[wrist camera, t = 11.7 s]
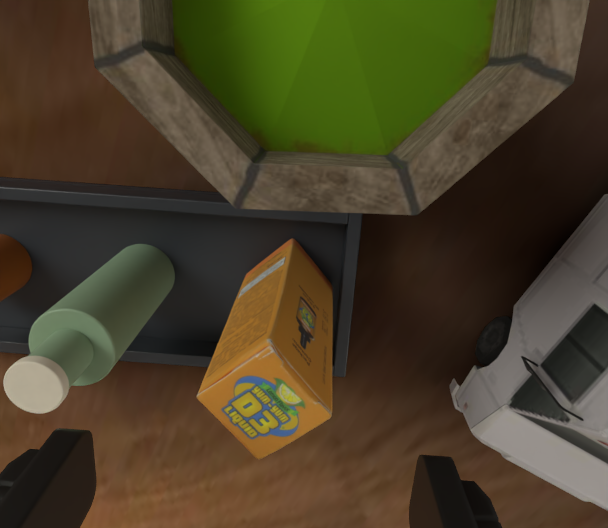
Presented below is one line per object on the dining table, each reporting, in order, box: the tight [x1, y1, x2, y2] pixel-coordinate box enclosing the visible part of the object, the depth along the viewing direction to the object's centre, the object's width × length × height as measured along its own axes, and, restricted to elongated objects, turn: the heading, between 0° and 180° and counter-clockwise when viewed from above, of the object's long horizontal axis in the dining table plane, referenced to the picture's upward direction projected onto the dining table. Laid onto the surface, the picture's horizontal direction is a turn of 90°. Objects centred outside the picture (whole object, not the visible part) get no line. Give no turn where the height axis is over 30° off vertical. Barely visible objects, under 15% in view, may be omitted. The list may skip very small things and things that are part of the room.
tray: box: [0, 177, 363, 377], centre depth 24 cm, size 20×8×2 cm, turn 86°
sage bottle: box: [4, 244, 175, 413], centre depth 19 cm, size 3×3×10 cm
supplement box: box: [197, 238, 333, 459], centre depth 19 cm, size 3×3×10 cm
